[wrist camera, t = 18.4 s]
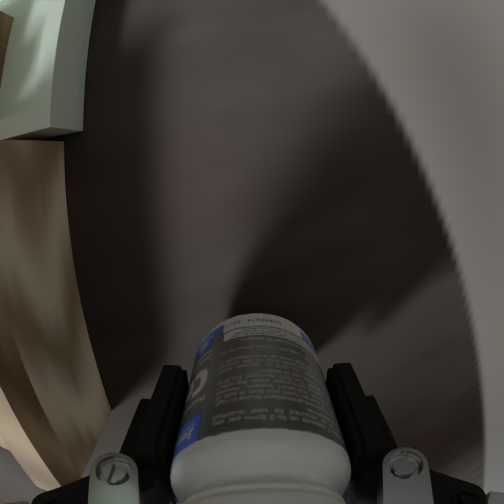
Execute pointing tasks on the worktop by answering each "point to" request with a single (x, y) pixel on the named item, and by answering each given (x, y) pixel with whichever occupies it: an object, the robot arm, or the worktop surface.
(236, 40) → the worktop surface
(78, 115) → the tray
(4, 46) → the walnut chip
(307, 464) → the pill bottle
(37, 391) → the slot block
